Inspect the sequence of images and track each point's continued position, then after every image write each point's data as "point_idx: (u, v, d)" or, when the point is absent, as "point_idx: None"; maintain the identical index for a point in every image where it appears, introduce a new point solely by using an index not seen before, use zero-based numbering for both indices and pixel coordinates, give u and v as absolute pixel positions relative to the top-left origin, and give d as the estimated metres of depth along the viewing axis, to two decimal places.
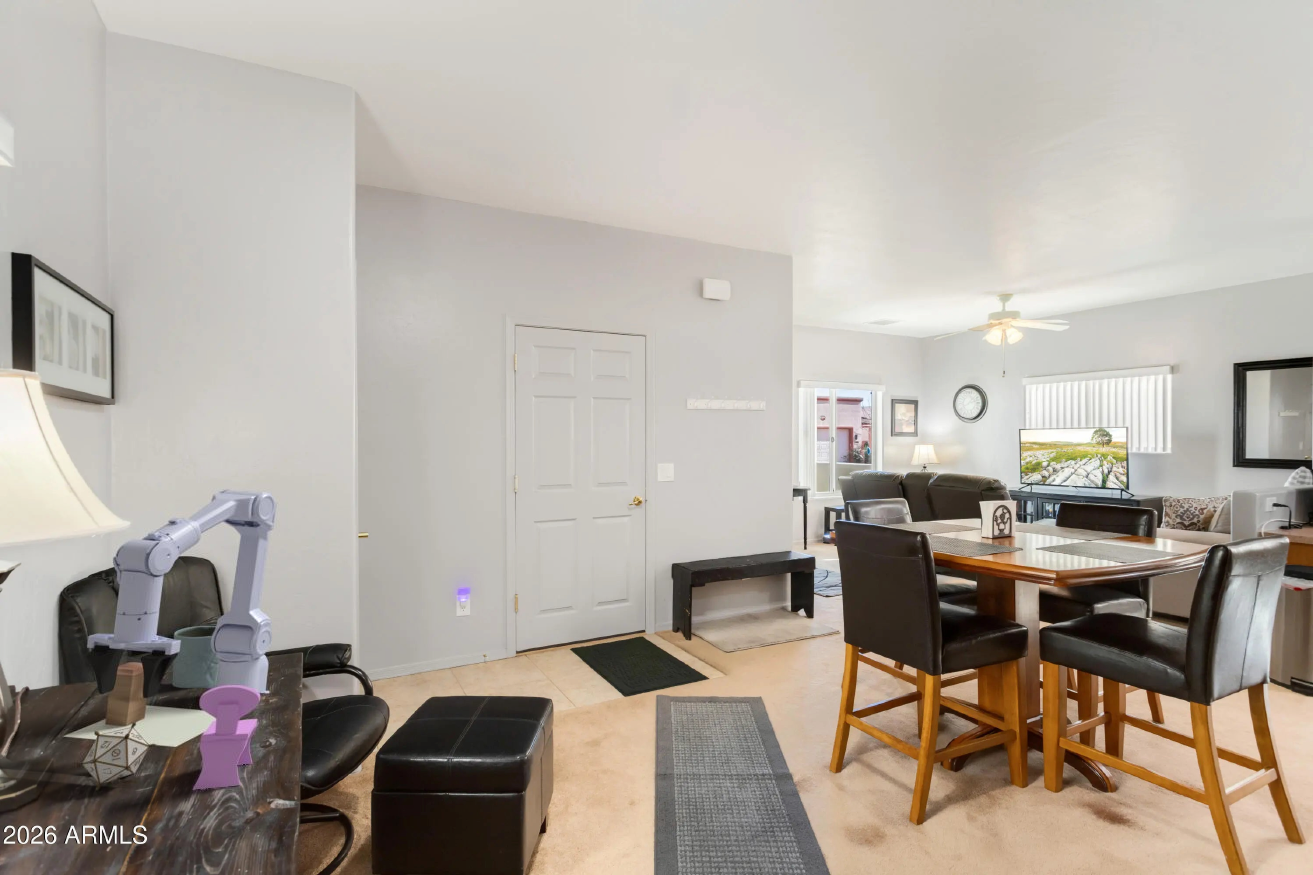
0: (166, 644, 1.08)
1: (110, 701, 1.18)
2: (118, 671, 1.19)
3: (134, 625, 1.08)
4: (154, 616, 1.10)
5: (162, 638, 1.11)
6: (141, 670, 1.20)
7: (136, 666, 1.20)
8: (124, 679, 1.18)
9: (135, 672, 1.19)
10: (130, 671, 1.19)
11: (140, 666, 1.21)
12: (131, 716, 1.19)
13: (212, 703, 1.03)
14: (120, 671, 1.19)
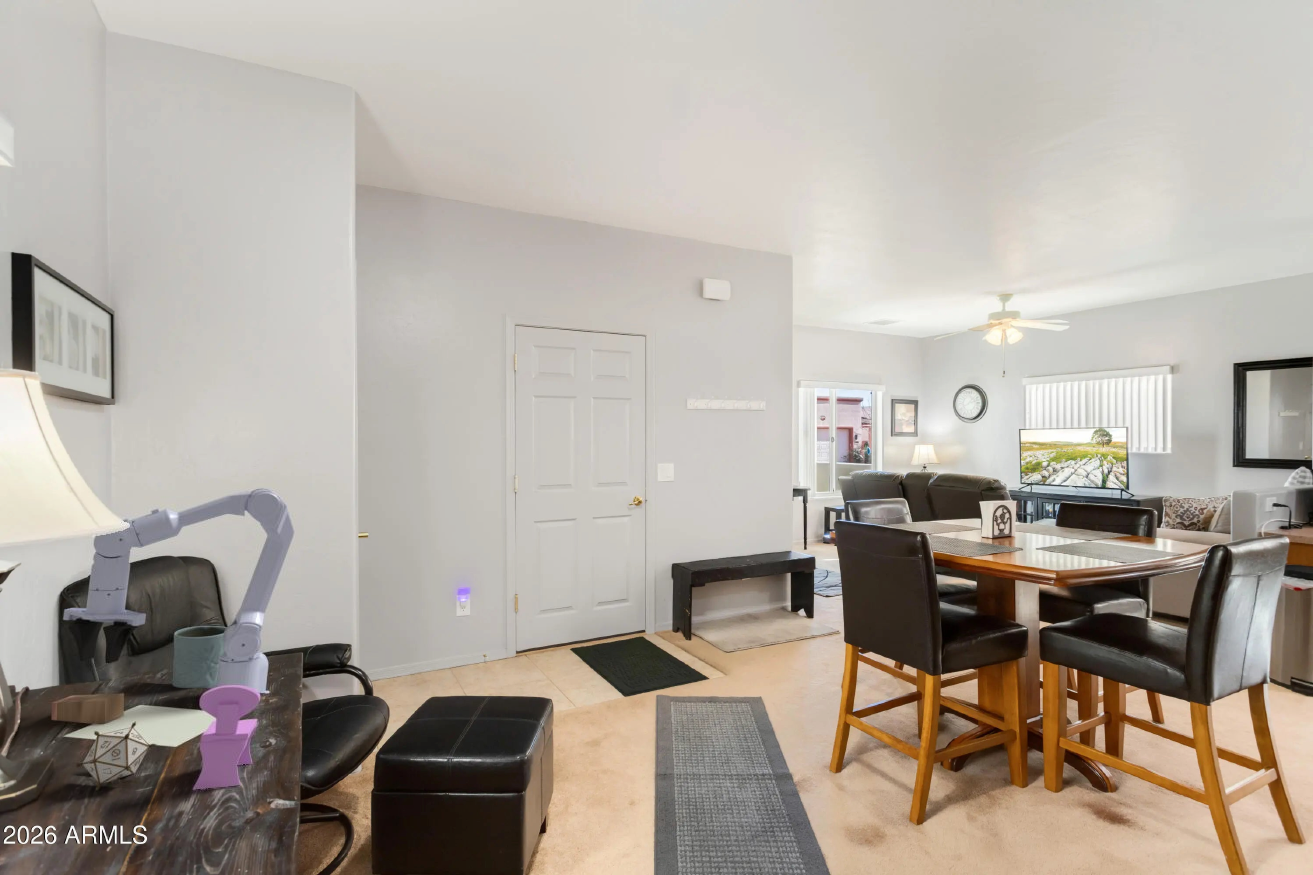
0: (132, 616, 1.23)
1: (83, 721, 1.18)
2: (54, 718, 1.18)
3: (105, 600, 1.22)
4: (122, 592, 1.25)
5: (130, 612, 1.26)
6: (65, 698, 1.21)
7: None
8: (61, 710, 1.18)
9: (58, 701, 1.19)
10: (53, 705, 1.19)
11: None
12: (102, 698, 1.19)
13: (212, 703, 1.03)
14: (54, 715, 1.18)
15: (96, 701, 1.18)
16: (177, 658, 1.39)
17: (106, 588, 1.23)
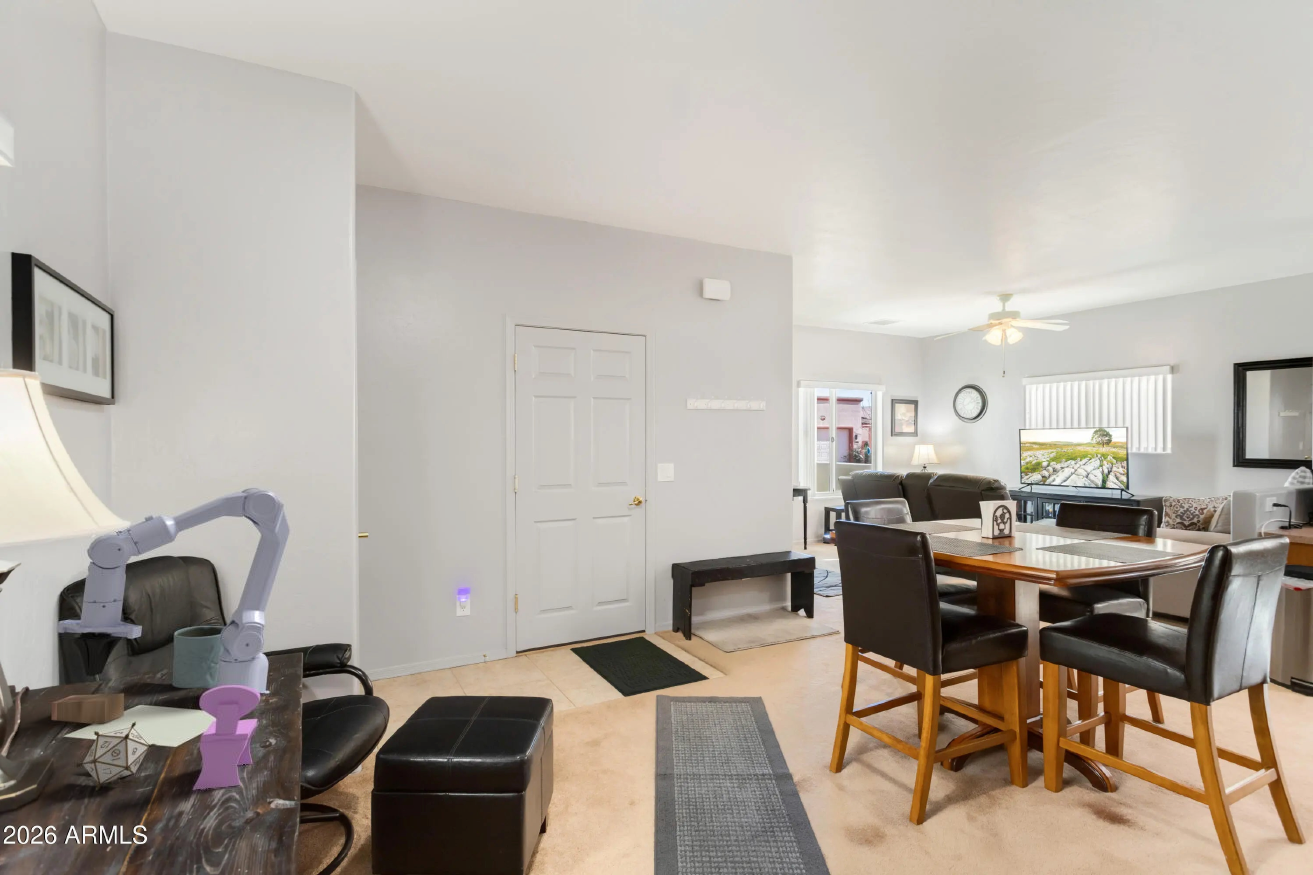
0: (128, 629, 1.20)
1: (83, 721, 1.18)
2: (54, 718, 1.18)
3: (99, 612, 1.19)
4: (117, 604, 1.22)
5: (125, 624, 1.23)
6: (65, 698, 1.21)
7: None
8: (61, 710, 1.18)
9: (58, 701, 1.19)
10: (53, 705, 1.19)
11: None
12: (102, 698, 1.19)
13: (212, 703, 1.03)
14: (54, 715, 1.18)
15: (96, 701, 1.18)
16: (177, 658, 1.39)
17: (104, 600, 1.20)
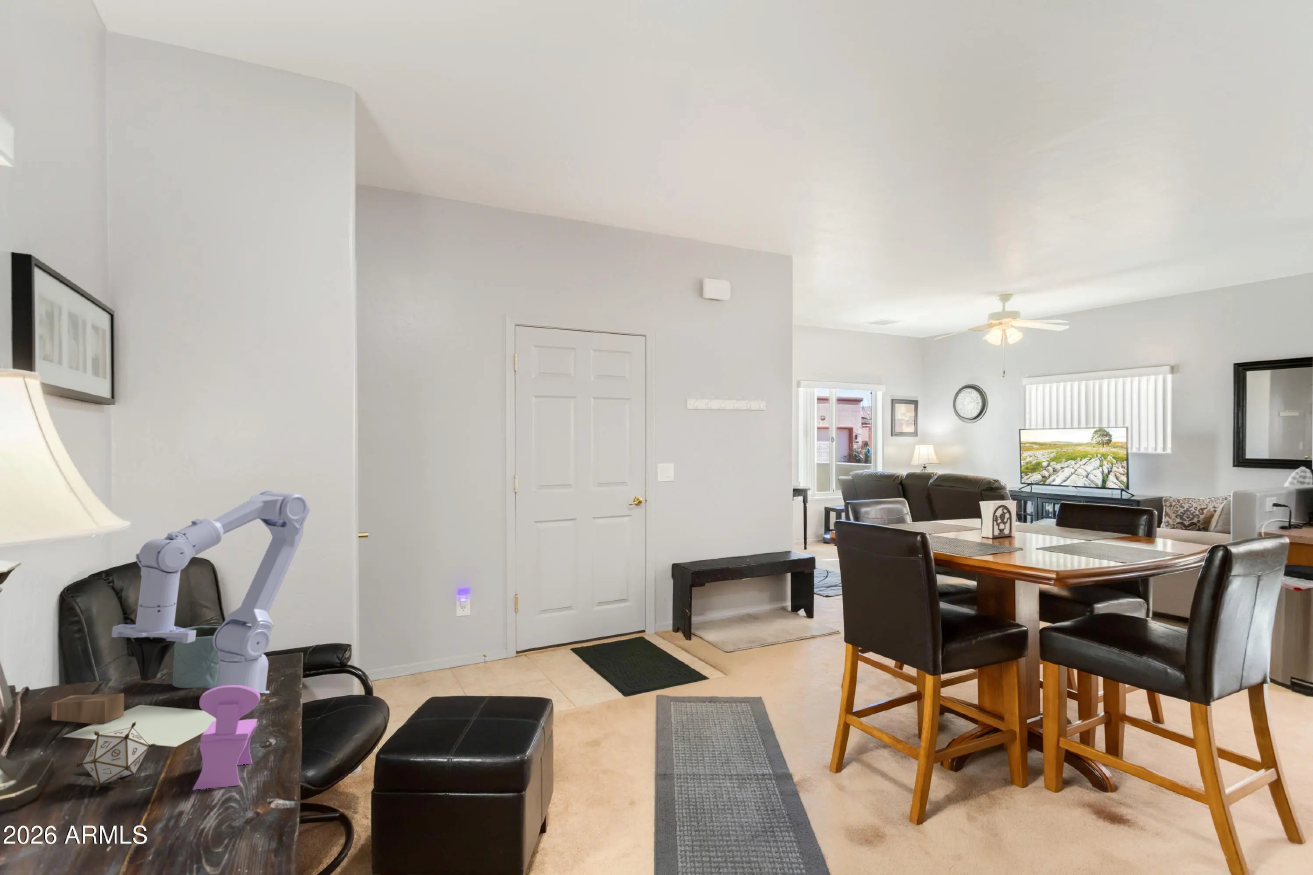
0: (183, 634, 1.20)
1: (83, 721, 1.18)
2: (54, 718, 1.18)
3: (155, 616, 1.19)
4: (172, 608, 1.21)
5: (179, 628, 1.23)
6: (65, 698, 1.21)
7: None
8: (61, 710, 1.18)
9: (58, 701, 1.19)
10: (53, 705, 1.19)
11: None
12: (102, 698, 1.19)
13: (212, 703, 1.03)
14: (54, 715, 1.18)
15: (96, 701, 1.18)
16: (177, 658, 1.39)
17: (167, 603, 1.20)
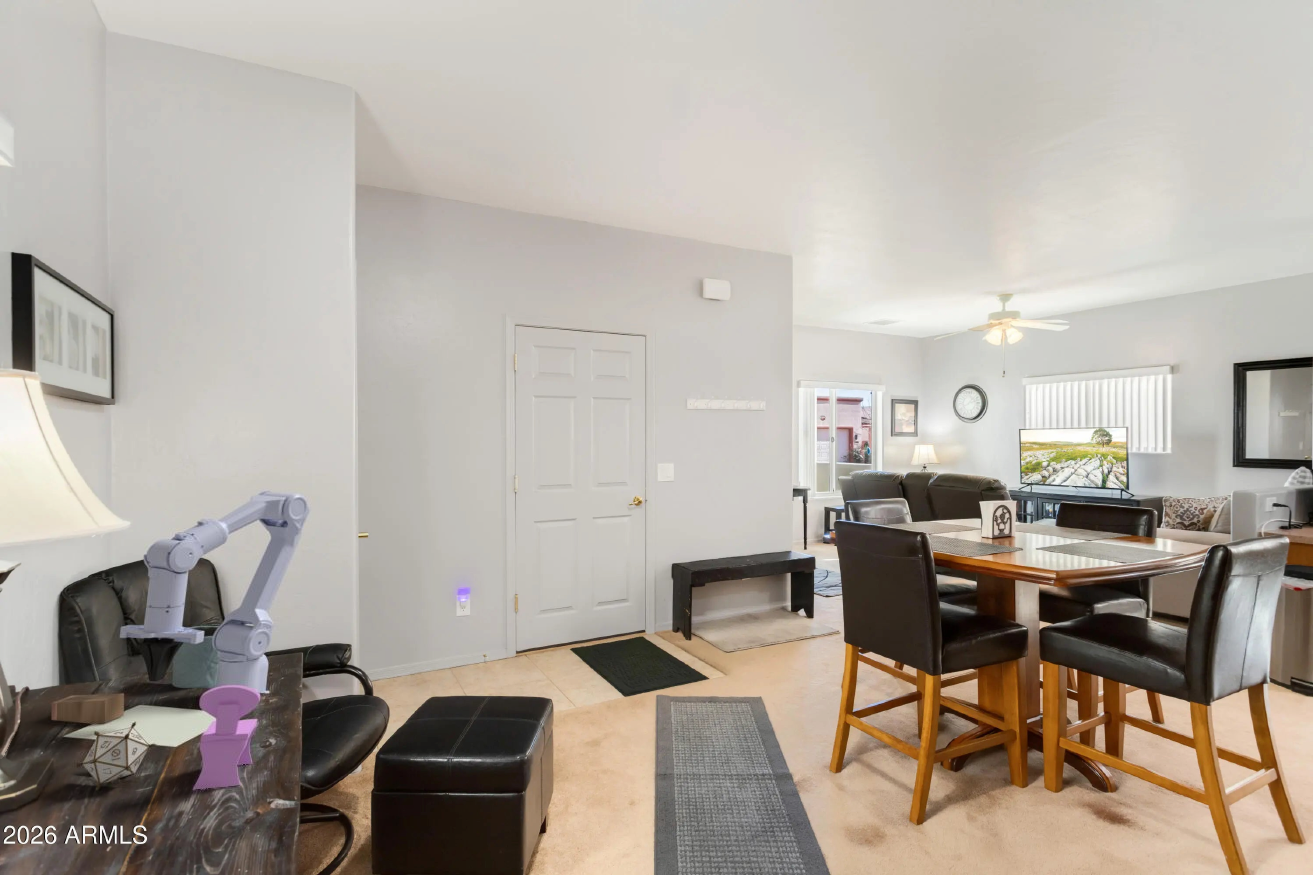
0: (191, 634, 1.20)
1: (83, 721, 1.18)
2: (54, 718, 1.18)
3: (163, 617, 1.19)
4: (180, 609, 1.21)
5: (187, 629, 1.22)
6: (65, 698, 1.21)
7: None
8: (61, 710, 1.18)
9: (58, 701, 1.19)
10: (53, 705, 1.19)
11: None
12: (102, 698, 1.19)
13: (212, 703, 1.03)
14: (54, 715, 1.18)
15: (96, 701, 1.18)
16: (177, 658, 1.39)
17: (177, 604, 1.20)
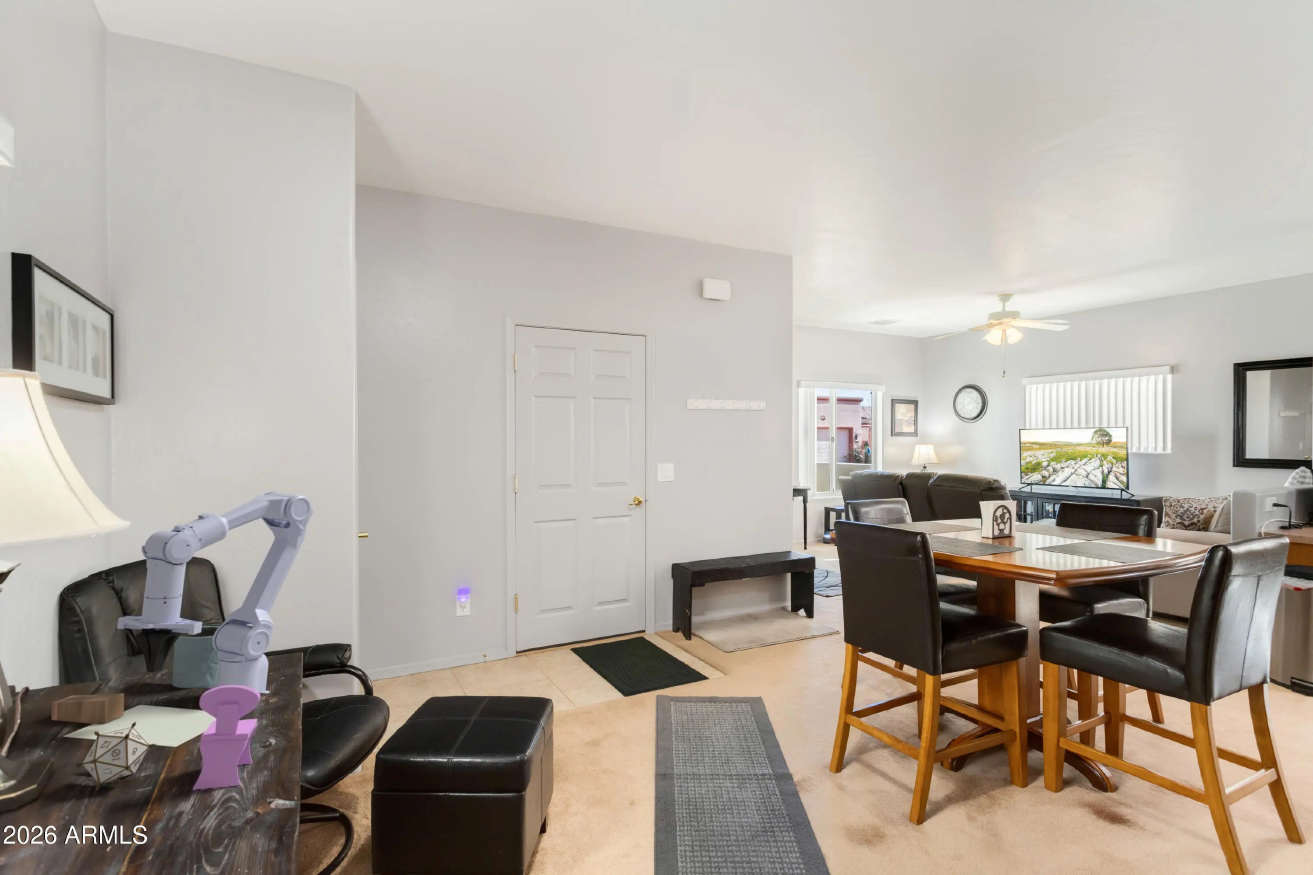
0: (189, 625, 1.20)
1: (83, 721, 1.18)
2: (54, 718, 1.18)
3: (161, 608, 1.19)
4: (178, 600, 1.22)
5: (185, 620, 1.23)
6: (65, 698, 1.21)
7: None
8: (61, 710, 1.18)
9: (58, 701, 1.19)
10: (53, 705, 1.19)
11: None
12: (102, 698, 1.19)
13: (212, 703, 1.03)
14: (54, 715, 1.18)
15: (96, 701, 1.18)
16: (177, 658, 1.39)
17: (173, 595, 1.21)
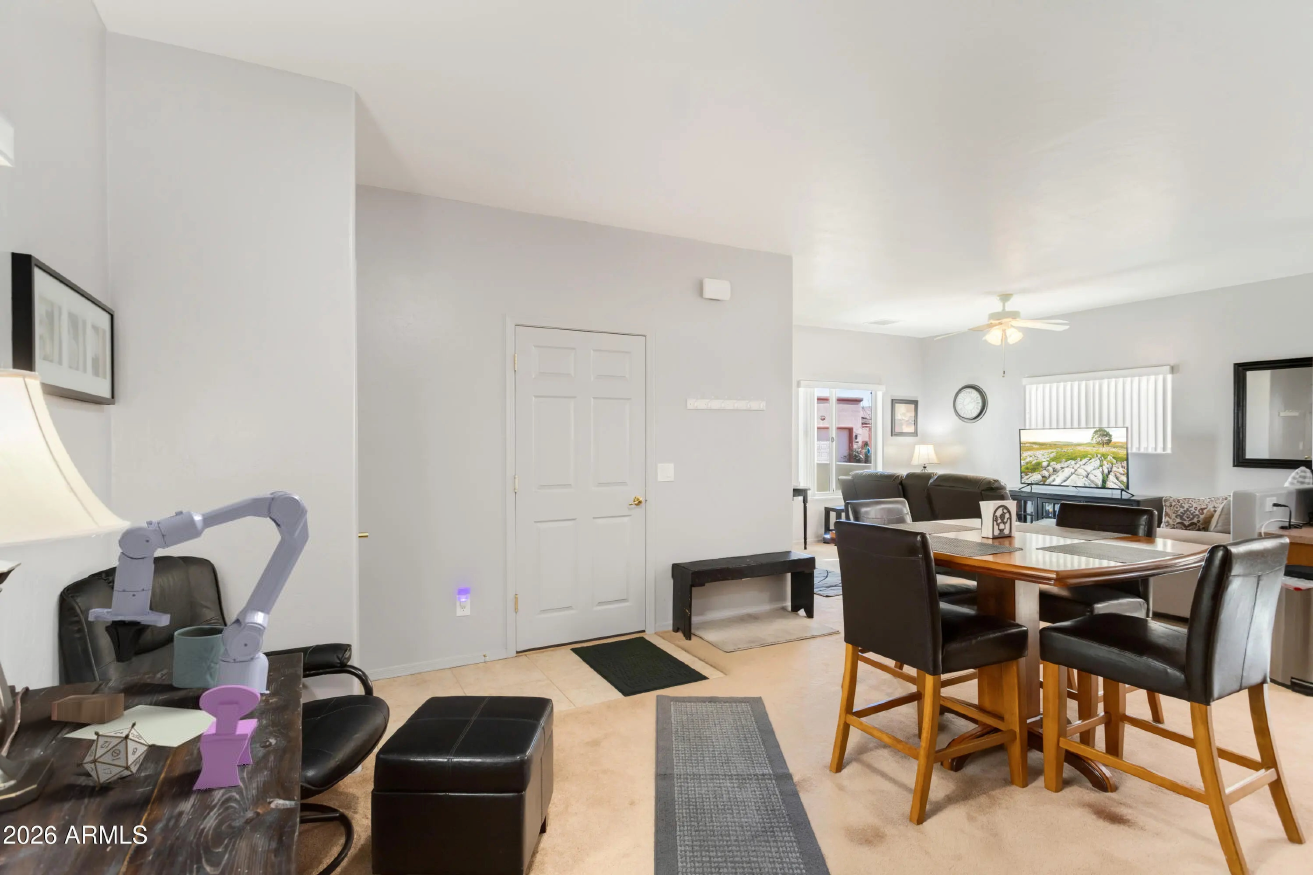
0: (157, 617, 1.24)
1: (83, 721, 1.18)
2: (54, 718, 1.18)
3: (130, 600, 1.23)
4: (147, 593, 1.26)
5: (154, 612, 1.27)
6: (65, 698, 1.21)
7: None
8: (61, 710, 1.18)
9: (58, 701, 1.19)
10: (53, 705, 1.19)
11: None
12: (102, 698, 1.19)
13: (212, 703, 1.03)
14: (54, 715, 1.18)
15: (96, 701, 1.18)
16: (177, 658, 1.39)
17: (133, 589, 1.23)
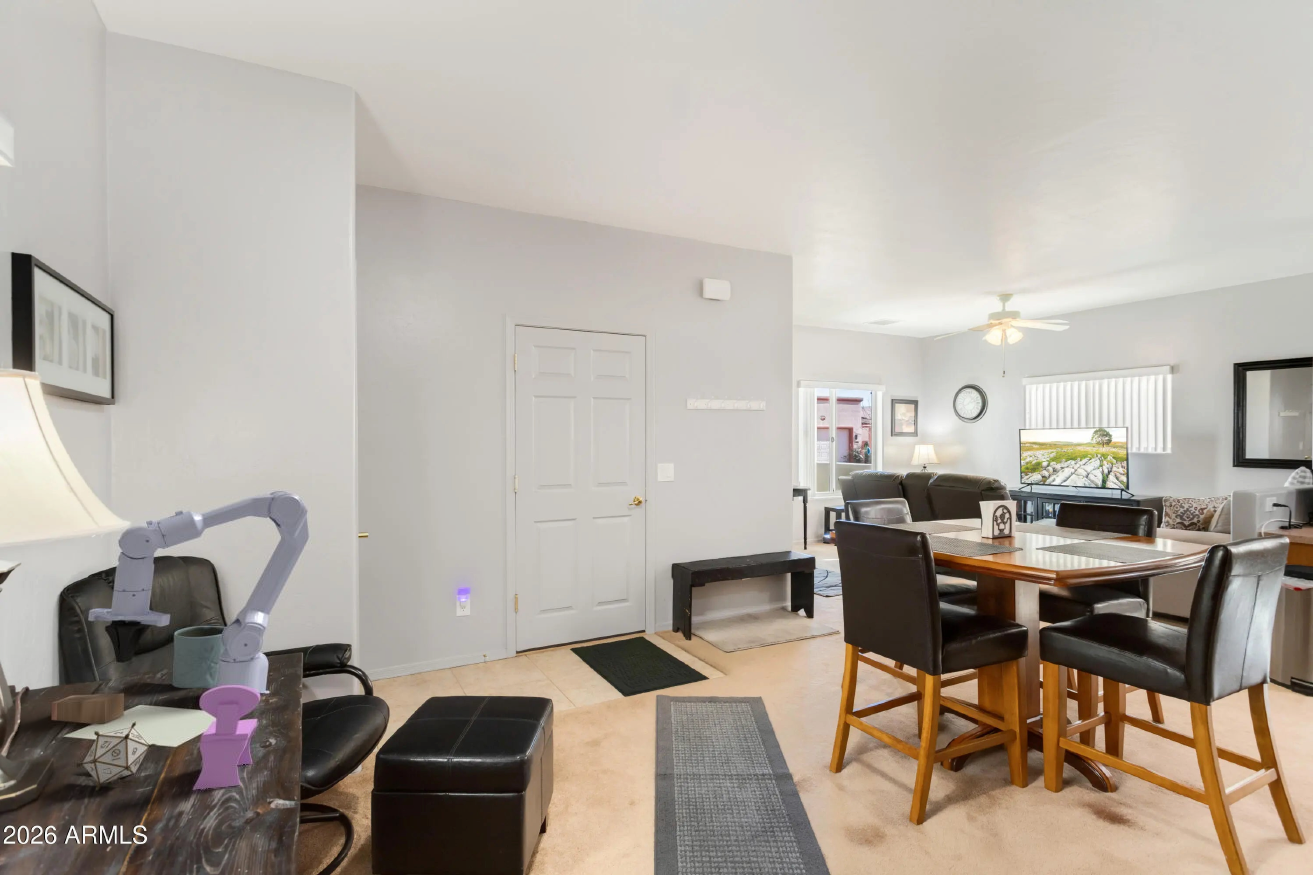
0: (157, 617, 1.24)
1: (83, 721, 1.18)
2: (54, 718, 1.18)
3: (130, 600, 1.23)
4: (147, 593, 1.26)
5: (154, 612, 1.27)
6: (65, 698, 1.21)
7: None
8: (61, 710, 1.18)
9: (58, 701, 1.19)
10: (53, 705, 1.19)
11: None
12: (102, 698, 1.19)
13: (212, 703, 1.03)
14: (54, 715, 1.18)
15: (96, 701, 1.18)
16: (177, 658, 1.39)
17: (133, 589, 1.23)
